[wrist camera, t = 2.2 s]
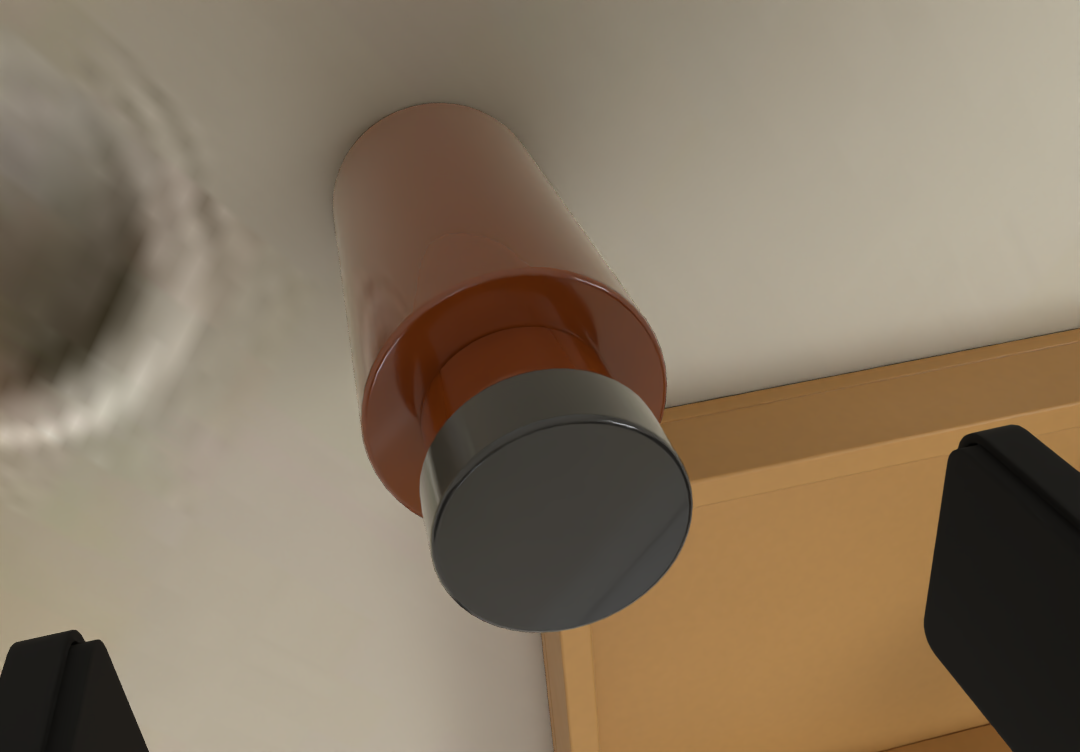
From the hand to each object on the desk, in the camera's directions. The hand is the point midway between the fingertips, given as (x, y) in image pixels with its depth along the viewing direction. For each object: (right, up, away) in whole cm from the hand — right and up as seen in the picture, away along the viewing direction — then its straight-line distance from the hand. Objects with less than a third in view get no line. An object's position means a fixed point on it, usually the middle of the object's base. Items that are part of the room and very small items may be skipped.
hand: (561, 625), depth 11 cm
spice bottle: (-2, +6, +10) cm, 12 cm away
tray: (+11, -3, +19) cm, 23 cm away
